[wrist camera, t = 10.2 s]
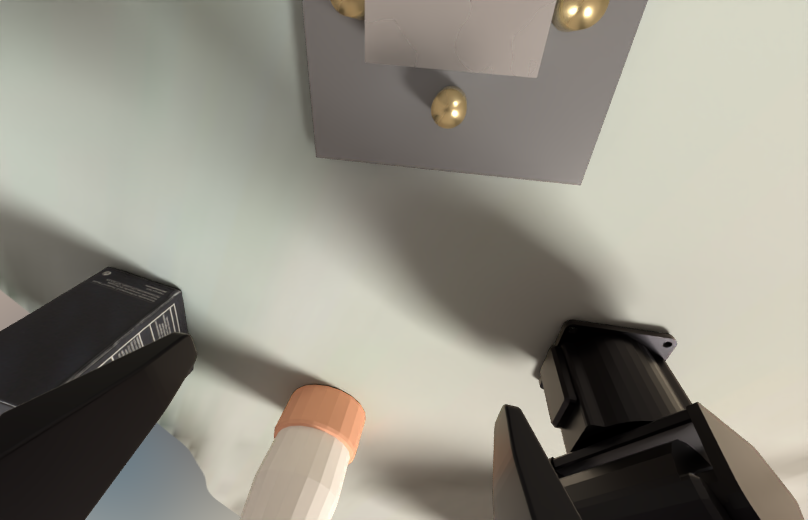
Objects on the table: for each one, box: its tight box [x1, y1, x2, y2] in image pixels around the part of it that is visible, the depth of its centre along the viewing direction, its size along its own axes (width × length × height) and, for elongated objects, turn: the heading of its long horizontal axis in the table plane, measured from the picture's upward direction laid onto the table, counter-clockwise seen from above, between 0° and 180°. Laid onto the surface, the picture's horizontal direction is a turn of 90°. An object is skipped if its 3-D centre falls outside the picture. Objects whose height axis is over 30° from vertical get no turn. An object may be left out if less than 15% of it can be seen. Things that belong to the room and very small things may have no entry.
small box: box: [0, 267, 193, 415], centre depth 24 cm, size 11×6×10 cm, turn 165°
